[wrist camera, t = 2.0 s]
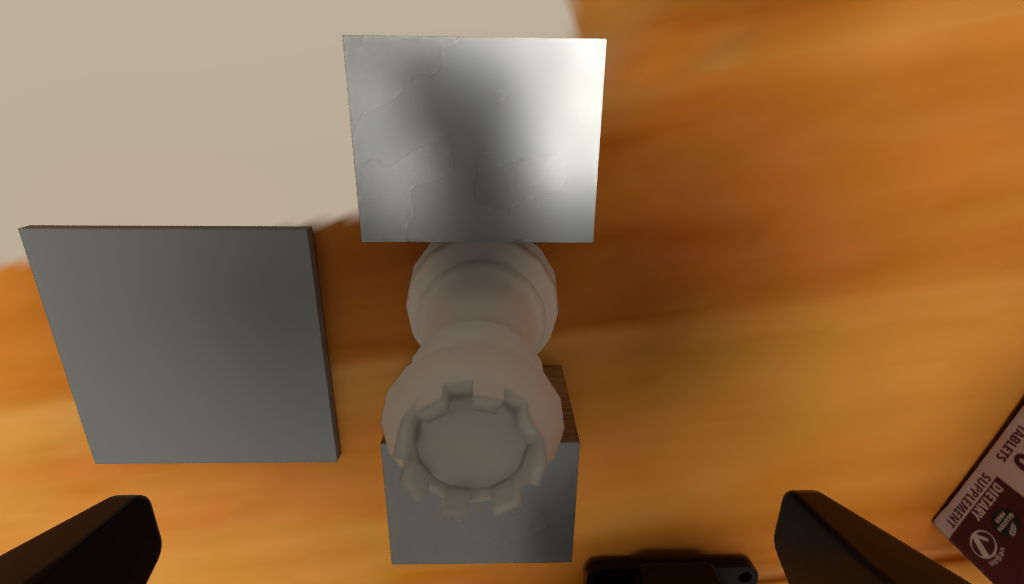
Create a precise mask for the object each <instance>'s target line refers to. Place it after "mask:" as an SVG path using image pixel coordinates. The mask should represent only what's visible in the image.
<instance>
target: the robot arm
mask: <svg viewBox="0 0 1024 584" xmlns="http://www.w3.org/2000/svg"><path fill="white" fill-rule="evenodd" d="M774 543H775V548H776V552H777V555H778V557H779V560H780V562H781V565H782V567H783V570H784V572H785V575H786V577H787V580H788V582H789V584H971V583H969V582H968V581H966V580H964V579H963V578H961V577H959V576H958V575H956V574H954V573H953V572H951V571H950V570H948V569H946V568H945V567H943V566H941V565H940V564H938V563H936V562H935V561H933V560H931V559H930V558H928V557H926V556H925V555H923V554H921V553H920V552H918V551H916V550H915V549H913V548H911V547H910V546H908V545H907V544H905V543H903V542H902V541H900V540H898V539H897V538H895V537H893V536H892V535H890V534H888V533H887V532H885V531H883V530H882V529H880V528H878V527H877V526H875V525H873V524H872V523H870V522H869V521H867V520H865V519H864V518H862V517H860V516H859V515H857V514H855V513H854V512H852V511H850V510H849V509H847V508H845V507H844V506H842V505H840V504H839V503H837V502H835V501H834V500H832V499H831V498H829V497H827V496H826V495H824V494H822V493H820V492H818V491H814V490H791V491H788V492H787V493H786V494H785V495H784V496H783V499H782V503H781V508H780V512H779V516H778V520H777V525H776V529H775V534H774ZM161 547H162V540H161V536H160V532H159V529H158V525H157V522H156V518H155V515H154V511H153V508H152V504H151V502H150V500H149V499H148V498H147V497H146V496H142V495H117V496H112V497H110V498H107V499H105V500H104V501H102V502H100V503H98V504H96V505H94V506H92V507H91V508H89V509H87V510H85V511H83V512H81V513H79V514H77V515H76V516H74V517H72V518H70V519H68V520H66V521H64V522H62V523H61V524H59V525H57V526H55V527H53V528H51V529H49V530H47V531H46V532H44V533H42V534H40V535H38V536H36V537H34V538H33V539H31V540H29V541H27V542H25V543H23V544H21V545H19V546H18V547H16V548H14V549H12V550H10V551H8V552H6V553H4V554H3V555H1V556H0V584H146V583H147V581H148V579H149V577H150V575H151V573H152V571H153V569H154V567H155V565H156V563H157V561H158V559H159V556H160V552H161ZM598 574H601V575H598ZM757 580H758V572H757V570H756V569H755V567H754V565H753V563H752V562H751V561H750V560H748V559H743V558H736V559H656V560H597V561H593V562H591V563H589V564H588V565H587V566H586V569H585V576H584V584H757Z"/></svg>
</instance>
